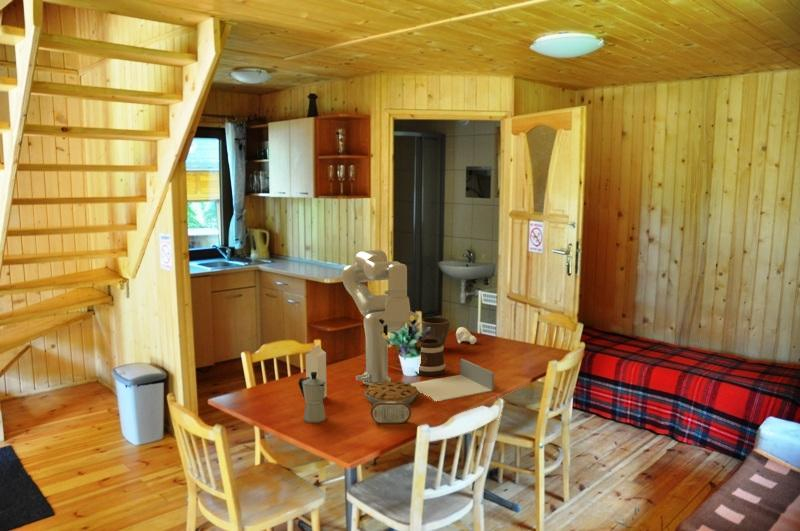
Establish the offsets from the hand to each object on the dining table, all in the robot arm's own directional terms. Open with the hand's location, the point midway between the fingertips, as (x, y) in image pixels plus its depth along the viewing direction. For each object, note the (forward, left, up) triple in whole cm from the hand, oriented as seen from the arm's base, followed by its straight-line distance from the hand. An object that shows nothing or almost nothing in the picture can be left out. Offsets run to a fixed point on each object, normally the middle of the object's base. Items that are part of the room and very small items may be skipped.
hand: (397, 335), depth 252 cm
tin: (-15, -24, -26) cm, 39 cm away
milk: (-30, +14, -26) cm, 43 cm away
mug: (+29, +25, -26) cm, 46 cm away
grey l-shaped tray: (+25, -1, -27) cm, 37 cm away
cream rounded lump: (+75, +59, -26) cm, 99 cm away
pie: (-3, -1, -27) cm, 27 cm away
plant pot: (+53, +56, -26) cm, 81 cm away
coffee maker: (-39, -6, -26) cm, 48 cm away
